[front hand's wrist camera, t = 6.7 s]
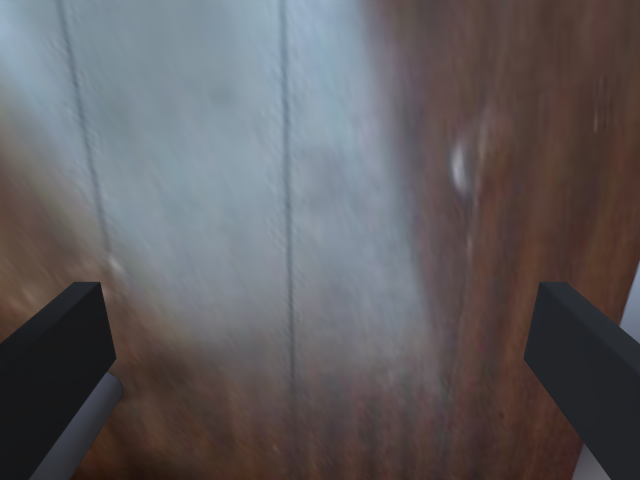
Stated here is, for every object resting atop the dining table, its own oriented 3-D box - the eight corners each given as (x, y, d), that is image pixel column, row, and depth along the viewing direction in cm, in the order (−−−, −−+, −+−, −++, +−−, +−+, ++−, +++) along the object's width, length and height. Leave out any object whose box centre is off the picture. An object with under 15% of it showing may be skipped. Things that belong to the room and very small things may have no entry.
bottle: (71, 387, 49) (-59, 550, 32) (95, 362, 47) (-28, 519, 31) (107, 411, 50) (0, 579, 33) (131, 387, 49) (32, 550, 32)
